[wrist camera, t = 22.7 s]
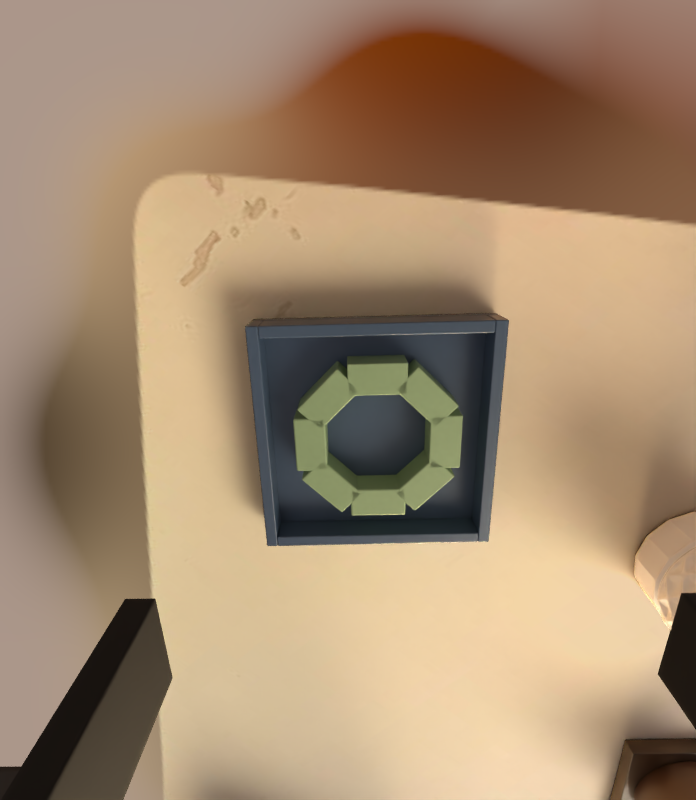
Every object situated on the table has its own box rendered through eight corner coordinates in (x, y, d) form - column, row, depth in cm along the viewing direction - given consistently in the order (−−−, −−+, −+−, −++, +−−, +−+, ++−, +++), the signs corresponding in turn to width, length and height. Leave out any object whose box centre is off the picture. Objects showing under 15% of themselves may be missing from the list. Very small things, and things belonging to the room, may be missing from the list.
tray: (496, 312, 23) (509, 319, 21) (479, 520, 27) (488, 542, 25) (253, 319, 23) (244, 326, 21) (272, 525, 27) (267, 546, 25)
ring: (459, 353, 23) (466, 361, 22) (450, 497, 26) (457, 514, 24) (292, 357, 23) (288, 365, 22) (302, 501, 26) (299, 517, 24)
